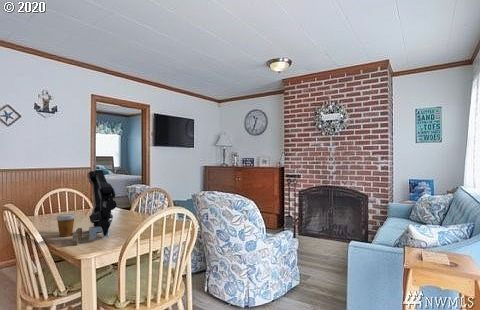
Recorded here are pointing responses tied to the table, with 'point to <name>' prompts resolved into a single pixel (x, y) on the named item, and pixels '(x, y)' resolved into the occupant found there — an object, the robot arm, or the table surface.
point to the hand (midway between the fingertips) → (105, 234)
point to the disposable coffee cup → (65, 224)
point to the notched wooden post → (77, 236)
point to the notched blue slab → (96, 229)
